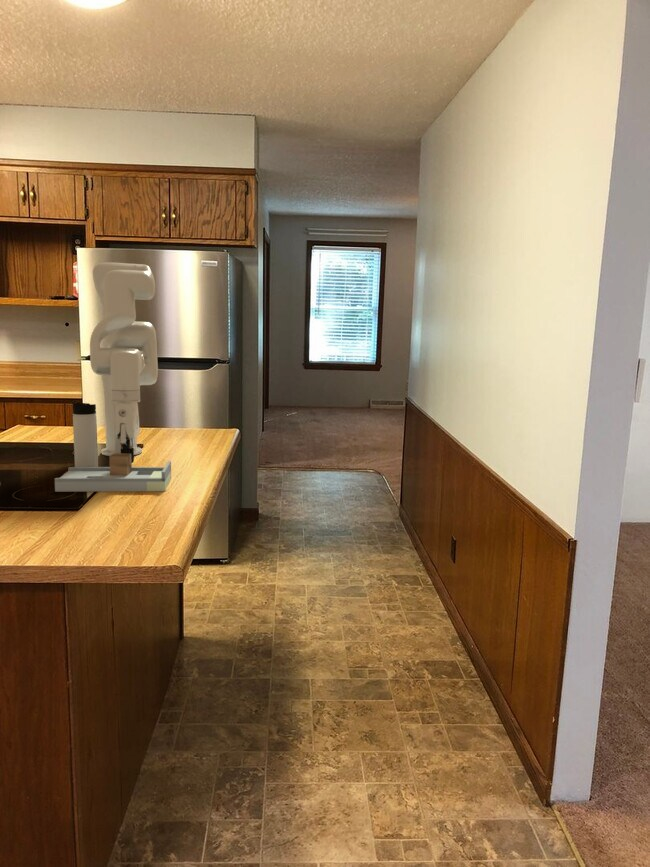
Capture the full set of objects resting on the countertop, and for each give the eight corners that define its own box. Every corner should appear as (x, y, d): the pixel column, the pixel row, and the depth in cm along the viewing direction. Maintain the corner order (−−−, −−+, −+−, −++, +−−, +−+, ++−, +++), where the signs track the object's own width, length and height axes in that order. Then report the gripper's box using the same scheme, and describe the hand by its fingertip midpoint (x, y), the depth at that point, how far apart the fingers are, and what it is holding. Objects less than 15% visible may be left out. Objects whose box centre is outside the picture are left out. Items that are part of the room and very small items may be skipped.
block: (115, 471, 172) (114, 453, 171) (131, 471, 172) (131, 453, 171) (109, 475, 167) (109, 456, 166) (127, 475, 167) (126, 457, 166)
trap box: (69, 478, 172) (68, 460, 171) (171, 478, 175) (171, 461, 175) (55, 491, 160) (54, 472, 159) (165, 491, 163) (164, 472, 162)
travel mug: (69, 471, 180) (66, 401, 177) (87, 467, 186) (84, 399, 183) (84, 474, 178) (82, 403, 174) (103, 470, 183) (100, 401, 180)
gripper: (135, 399, 165) (136, 468, 168) (144, 393, 180) (145, 457, 183) (105, 399, 164) (107, 468, 167) (117, 393, 179) (118, 456, 182)
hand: (127, 462), depth 175 cm, fingers closed
